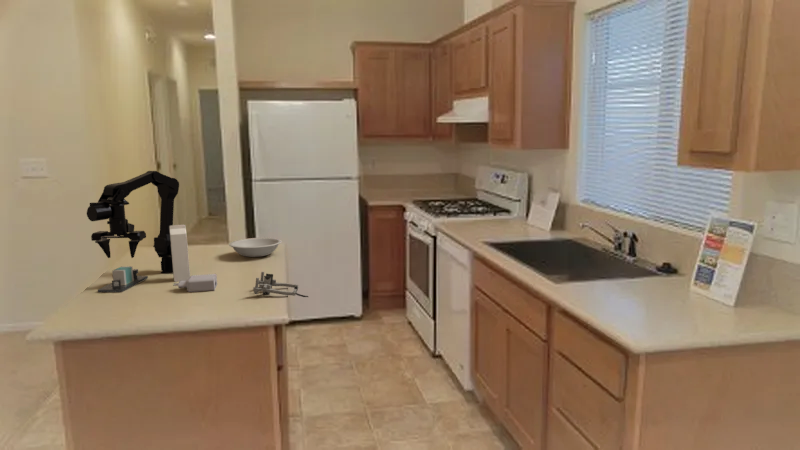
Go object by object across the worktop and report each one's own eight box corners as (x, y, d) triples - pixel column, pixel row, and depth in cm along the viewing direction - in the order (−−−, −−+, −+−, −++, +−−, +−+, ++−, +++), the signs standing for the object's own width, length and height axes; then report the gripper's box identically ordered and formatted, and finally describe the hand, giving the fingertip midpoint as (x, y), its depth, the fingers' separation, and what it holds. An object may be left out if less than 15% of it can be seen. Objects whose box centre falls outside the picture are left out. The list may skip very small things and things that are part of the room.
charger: (176, 287, 218) (217, 285, 221) (171, 294, 209) (214, 291, 212) (175, 275, 218) (216, 273, 220) (170, 281, 209) (213, 279, 211)
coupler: (124, 284, 219) (123, 270, 218) (113, 284, 220) (112, 270, 219) (133, 279, 226) (132, 266, 225) (122, 279, 226) (121, 266, 225)
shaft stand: (147, 278, 233) (146, 268, 232) (121, 292, 213) (120, 281, 212) (126, 278, 233) (125, 268, 232) (97, 292, 213) (96, 281, 212)
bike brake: (250, 296, 201) (307, 303, 202) (252, 278, 200) (309, 284, 201) (258, 286, 215) (311, 293, 216) (260, 269, 214) (313, 275, 215)
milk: (190, 280, 228) (186, 225, 225) (174, 282, 226) (169, 226, 222) (189, 276, 234) (185, 223, 230) (173, 278, 232) (169, 224, 228)
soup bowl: (276, 261, 259) (275, 247, 258) (223, 262, 259) (222, 247, 258) (287, 250, 283) (286, 237, 282) (238, 251, 283) (237, 237, 282)
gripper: (151, 214, 226) (154, 253, 229) (104, 214, 227) (108, 253, 229) (137, 218, 215) (140, 259, 218) (88, 219, 216) (92, 259, 218)
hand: (120, 257), depth 221 cm, fingers open, 9 cm apart
